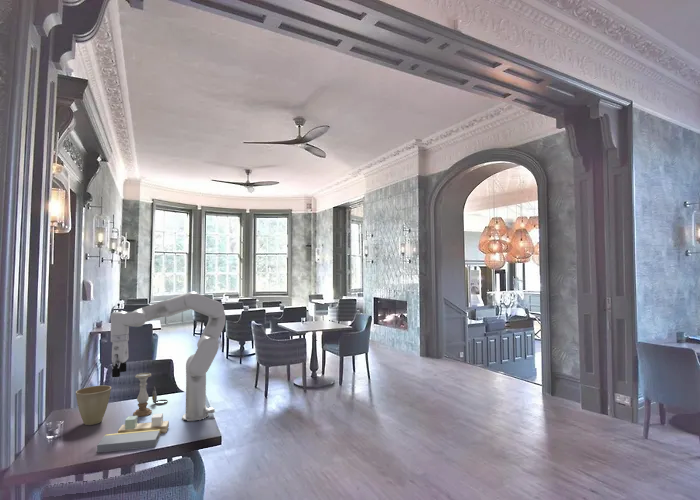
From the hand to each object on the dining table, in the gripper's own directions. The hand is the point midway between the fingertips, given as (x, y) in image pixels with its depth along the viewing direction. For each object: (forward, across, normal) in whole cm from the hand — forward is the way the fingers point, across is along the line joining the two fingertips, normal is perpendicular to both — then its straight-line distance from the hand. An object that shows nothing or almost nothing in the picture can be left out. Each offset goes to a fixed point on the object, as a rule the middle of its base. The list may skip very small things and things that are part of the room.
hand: (119, 374), depth 194 cm
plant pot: (+26, +12, +15) cm, 32 cm away
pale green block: (+22, -7, -7) cm, 25 cm away
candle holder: (+26, +19, -6) cm, 32 cm away
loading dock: (+26, -20, -10) cm, 34 cm away
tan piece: (+26, -7, -13) cm, 30 cm away
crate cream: (+23, -7, -18) cm, 30 cm away
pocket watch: (+26, +35, -10) cm, 45 cm away
